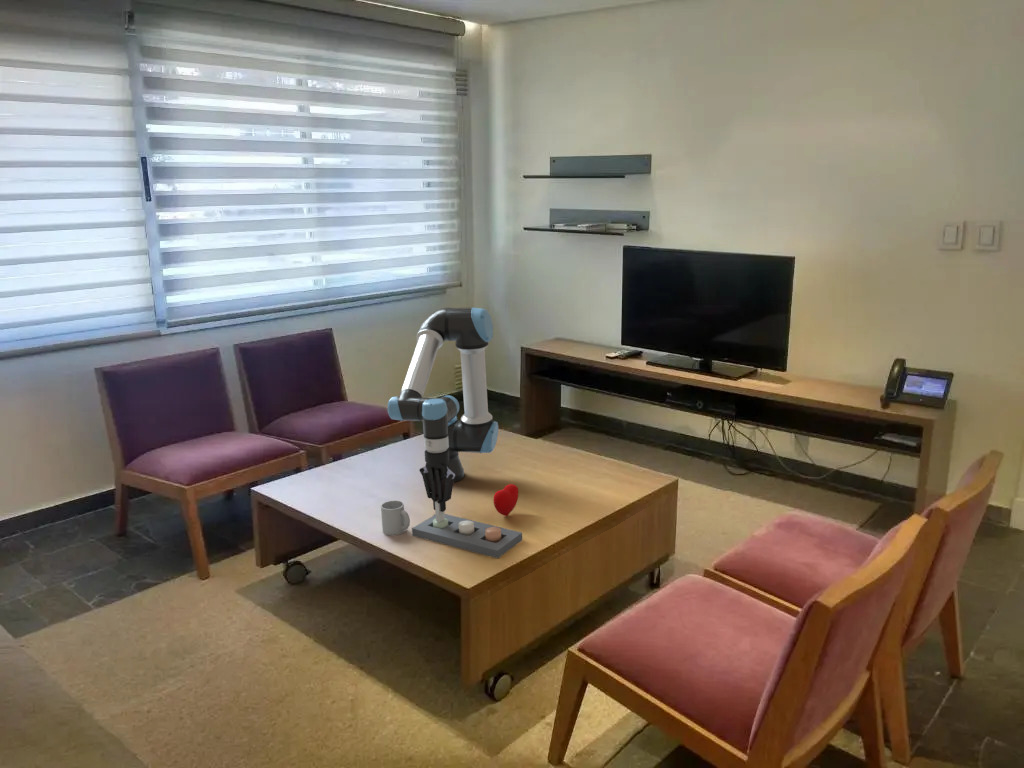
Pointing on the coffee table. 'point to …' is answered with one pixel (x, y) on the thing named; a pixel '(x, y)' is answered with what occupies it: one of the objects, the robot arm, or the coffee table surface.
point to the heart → (506, 499)
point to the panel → (470, 543)
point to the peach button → (493, 534)
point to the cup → (394, 518)
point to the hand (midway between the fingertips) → (440, 520)
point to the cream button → (466, 527)
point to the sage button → (440, 523)
